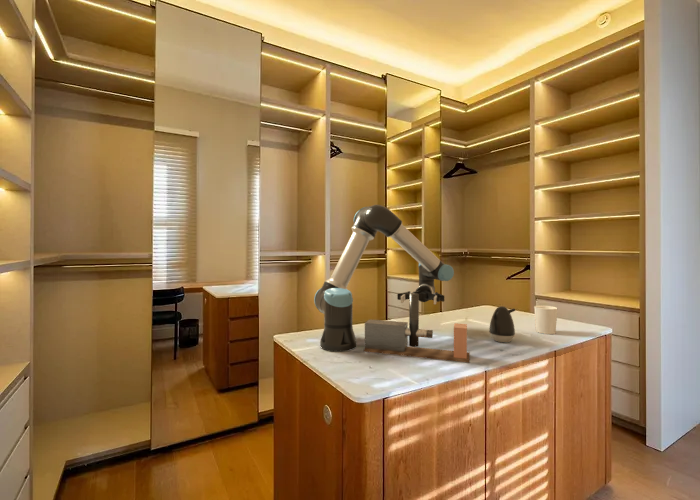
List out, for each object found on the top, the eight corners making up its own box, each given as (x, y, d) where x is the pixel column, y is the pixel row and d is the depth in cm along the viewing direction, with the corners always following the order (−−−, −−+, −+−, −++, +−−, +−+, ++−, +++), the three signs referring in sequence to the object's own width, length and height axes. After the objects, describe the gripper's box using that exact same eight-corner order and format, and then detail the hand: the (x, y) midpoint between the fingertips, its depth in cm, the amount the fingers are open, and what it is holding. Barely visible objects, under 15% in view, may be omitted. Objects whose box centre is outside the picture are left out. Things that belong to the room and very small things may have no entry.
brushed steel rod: (370, 342, 139) (370, 292, 139) (372, 340, 143) (372, 291, 142) (431, 348, 131) (432, 295, 131) (432, 345, 135) (432, 294, 134)
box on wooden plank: (364, 348, 139) (364, 322, 138) (369, 343, 145) (369, 319, 144) (404, 352, 133) (404, 325, 133) (407, 347, 139) (407, 322, 139)
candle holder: (529, 329, 171) (529, 305, 171) (548, 329, 172) (548, 305, 172) (542, 335, 161) (542, 309, 161) (562, 334, 163) (562, 308, 162)
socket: (453, 357, 127) (453, 327, 127) (454, 351, 134) (454, 323, 134) (466, 358, 126) (466, 328, 126) (466, 352, 132) (466, 324, 132)
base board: (363, 351, 137) (363, 349, 137) (369, 345, 146) (369, 342, 146) (469, 362, 125) (469, 359, 125) (469, 354, 133) (469, 352, 133)
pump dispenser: (518, 345, 146) (518, 309, 146) (491, 343, 148) (492, 308, 148) (511, 338, 156) (512, 304, 156) (487, 337, 158) (487, 303, 158)
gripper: (451, 302, 160) (449, 311, 140) (398, 299, 169) (388, 308, 149) (451, 285, 160) (449, 292, 140) (397, 284, 168) (388, 290, 148)
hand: (417, 300), depth 144 cm, fingers open, 13 cm apart
